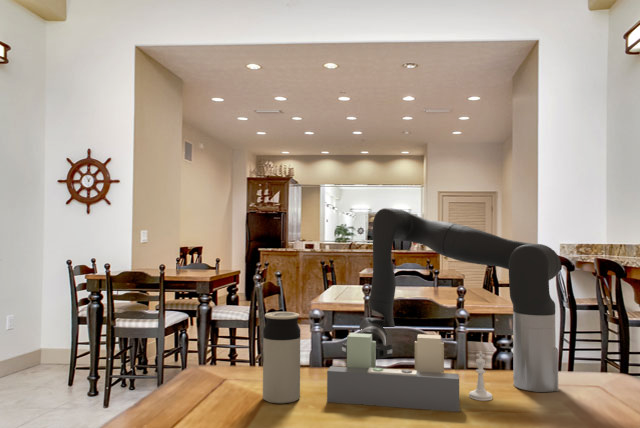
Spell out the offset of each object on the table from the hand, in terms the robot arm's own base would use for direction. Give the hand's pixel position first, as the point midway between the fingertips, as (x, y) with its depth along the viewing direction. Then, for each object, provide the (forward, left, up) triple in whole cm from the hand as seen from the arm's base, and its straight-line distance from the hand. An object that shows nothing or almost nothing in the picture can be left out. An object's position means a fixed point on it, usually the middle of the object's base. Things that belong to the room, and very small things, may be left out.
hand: (362, 357), depth 122 cm
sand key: (-15, +2, -5) cm, 16 cm away
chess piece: (-26, 0, -7) cm, 27 cm away
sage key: (0, +4, -5) cm, 6 cm away
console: (-7, +5, -7) cm, 12 cm away
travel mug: (+16, +11, -7) cm, 21 cm away
